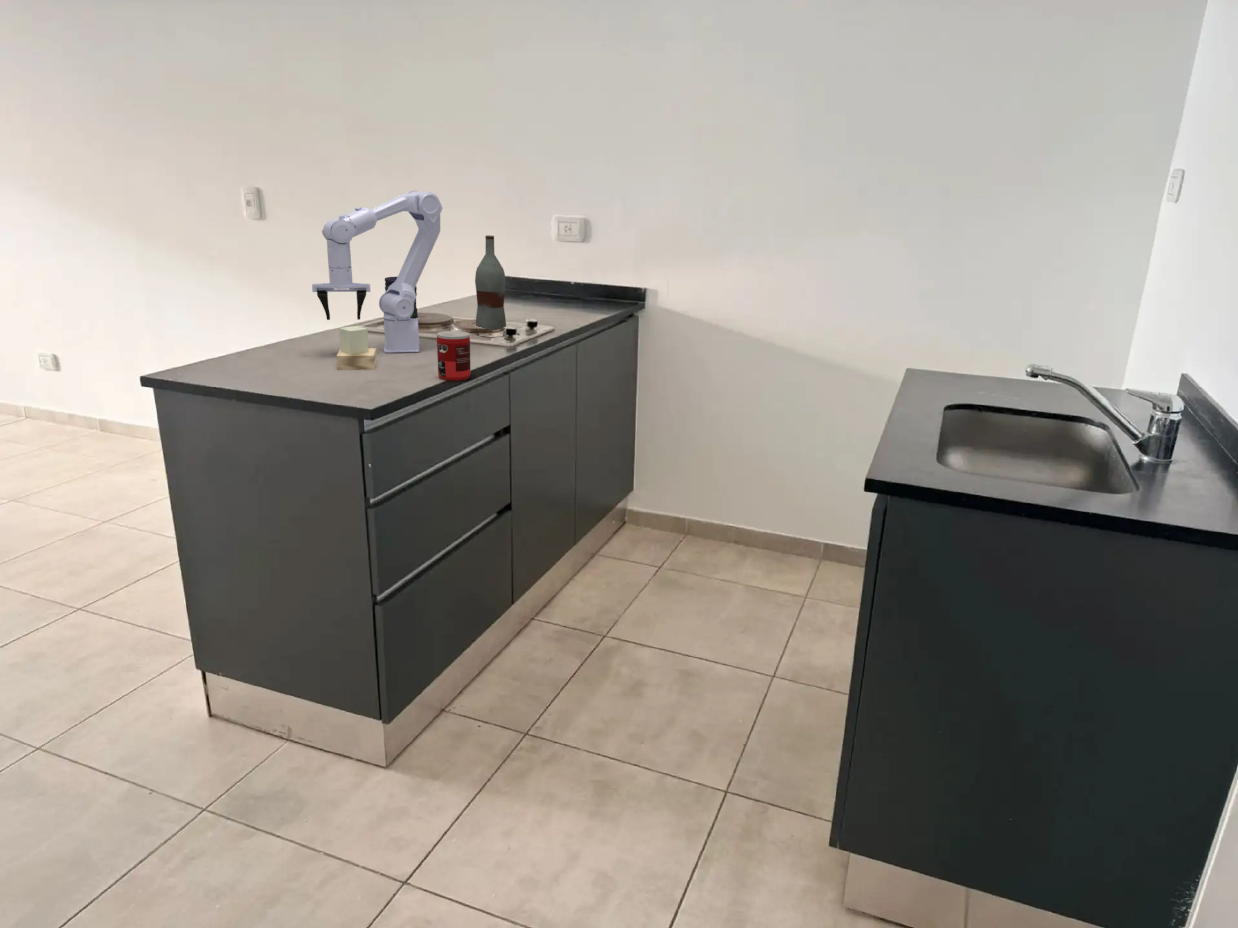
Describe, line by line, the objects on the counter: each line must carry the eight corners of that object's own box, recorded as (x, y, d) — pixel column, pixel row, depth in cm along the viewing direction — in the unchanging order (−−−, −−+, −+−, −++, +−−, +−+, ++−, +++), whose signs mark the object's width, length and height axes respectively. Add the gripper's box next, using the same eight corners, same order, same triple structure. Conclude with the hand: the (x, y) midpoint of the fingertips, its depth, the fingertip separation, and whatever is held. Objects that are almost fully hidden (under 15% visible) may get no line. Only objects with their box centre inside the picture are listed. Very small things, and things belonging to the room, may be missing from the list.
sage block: (358, 348, 221) (356, 326, 219) (368, 352, 218) (367, 329, 215) (340, 351, 217) (339, 328, 215) (351, 354, 214) (349, 331, 212)
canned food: (440, 373, 214) (438, 330, 210) (471, 374, 215) (471, 331, 211) (436, 380, 207) (434, 336, 203) (469, 381, 207) (468, 336, 204)
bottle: (486, 339, 258) (484, 237, 248) (470, 334, 264) (468, 235, 254) (511, 336, 264) (511, 236, 254) (495, 331, 270) (494, 234, 260)
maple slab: (376, 363, 224) (375, 348, 222) (374, 371, 215) (373, 355, 214) (341, 363, 222) (340, 348, 221) (337, 371, 214) (336, 355, 212)
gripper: (368, 265, 226) (371, 316, 231) (311, 265, 222) (315, 316, 227) (369, 268, 220) (372, 320, 225) (310, 268, 216) (314, 321, 221)
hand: (343, 319), depth 225 cm, fingers open, 7 cm apart
